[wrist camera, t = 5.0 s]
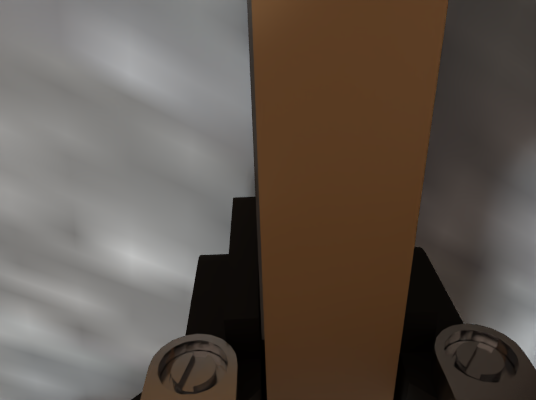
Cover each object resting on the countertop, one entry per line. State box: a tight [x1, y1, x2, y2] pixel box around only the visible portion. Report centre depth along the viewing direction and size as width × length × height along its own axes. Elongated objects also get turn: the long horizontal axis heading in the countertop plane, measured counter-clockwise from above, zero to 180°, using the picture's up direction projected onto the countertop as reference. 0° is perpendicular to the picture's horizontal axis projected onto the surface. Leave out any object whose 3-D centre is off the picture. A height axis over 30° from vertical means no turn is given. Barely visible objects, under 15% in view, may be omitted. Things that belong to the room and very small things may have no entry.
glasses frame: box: [247, 0, 448, 400], centre depth 9 cm, size 9×16×5 cm, turn 1°
